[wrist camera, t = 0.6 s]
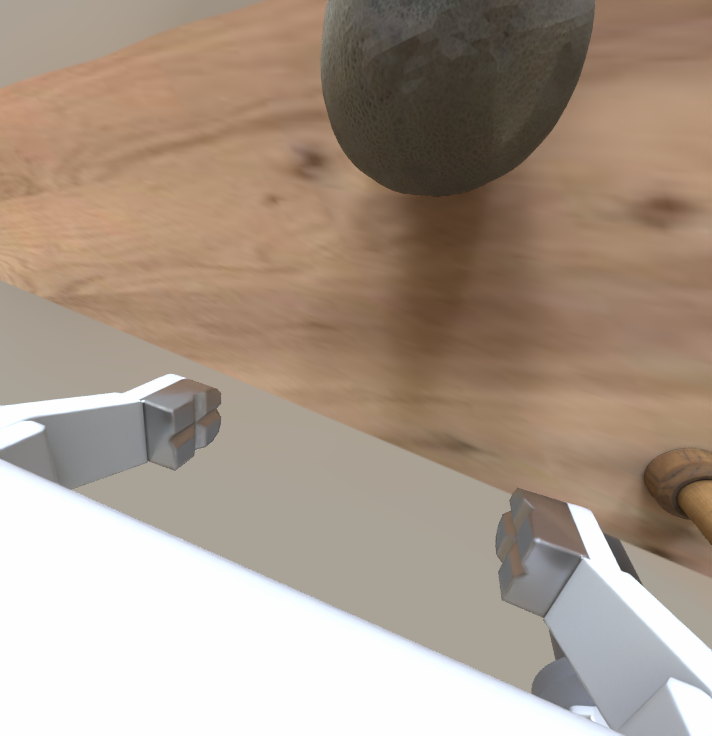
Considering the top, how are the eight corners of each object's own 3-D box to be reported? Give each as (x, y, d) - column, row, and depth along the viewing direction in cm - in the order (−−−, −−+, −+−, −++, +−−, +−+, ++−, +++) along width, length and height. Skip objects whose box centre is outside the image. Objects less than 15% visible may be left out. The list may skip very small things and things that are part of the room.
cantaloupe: (434, -57, 23) (399, -433, 10) (598, 59, 23) (784, -166, 10) (336, 149, 30) (236, 87, 17) (464, 241, 30) (467, 251, 16)
